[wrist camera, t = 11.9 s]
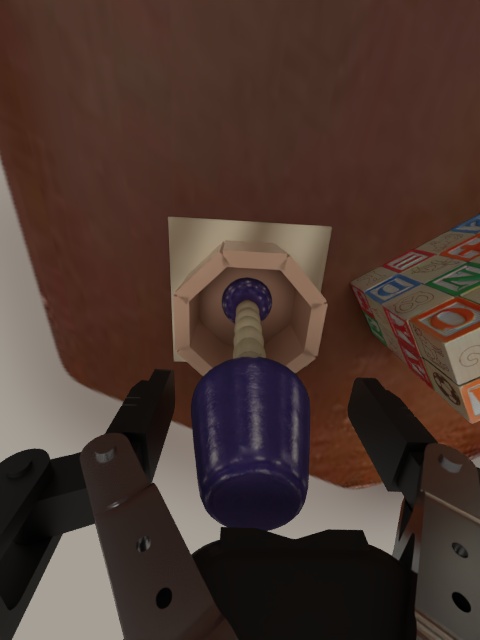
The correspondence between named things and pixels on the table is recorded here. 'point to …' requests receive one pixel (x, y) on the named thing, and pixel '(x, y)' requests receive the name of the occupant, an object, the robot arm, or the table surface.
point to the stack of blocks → (432, 313)
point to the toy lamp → (251, 424)
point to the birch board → (206, 234)
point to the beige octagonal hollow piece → (277, 329)
